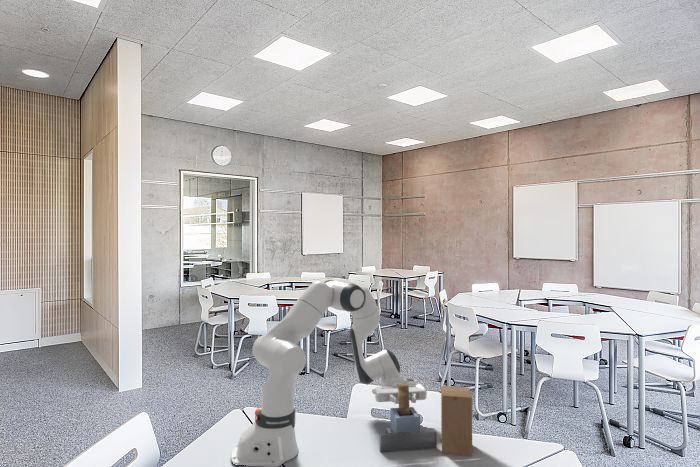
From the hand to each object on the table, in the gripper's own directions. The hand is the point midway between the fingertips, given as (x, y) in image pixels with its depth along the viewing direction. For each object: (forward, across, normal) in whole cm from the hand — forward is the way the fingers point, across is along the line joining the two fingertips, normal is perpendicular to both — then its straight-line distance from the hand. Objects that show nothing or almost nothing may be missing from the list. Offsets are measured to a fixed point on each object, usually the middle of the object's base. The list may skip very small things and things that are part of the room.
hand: (405, 401), depth 152 cm
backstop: (+3, -2, +13) cm, 13 cm away
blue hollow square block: (-1, 0, +12) cm, 13 cm away
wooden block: (+12, +15, +13) cm, 23 cm away
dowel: (-1, 0, +10) cm, 10 cm away
